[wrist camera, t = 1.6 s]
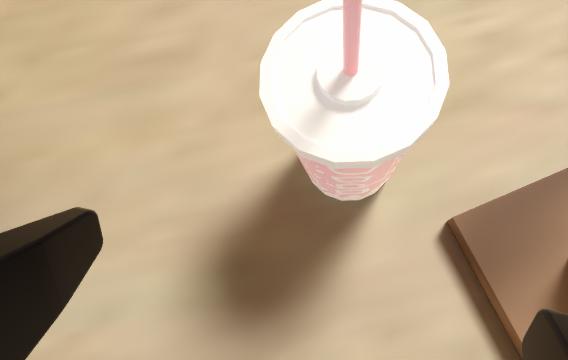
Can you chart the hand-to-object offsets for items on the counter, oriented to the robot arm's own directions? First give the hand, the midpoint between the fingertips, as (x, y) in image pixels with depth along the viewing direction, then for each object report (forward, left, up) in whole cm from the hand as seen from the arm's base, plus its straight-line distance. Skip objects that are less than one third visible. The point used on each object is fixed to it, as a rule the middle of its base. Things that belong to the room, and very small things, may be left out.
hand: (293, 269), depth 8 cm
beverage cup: (+5, -4, -13) cm, 14 cm away
